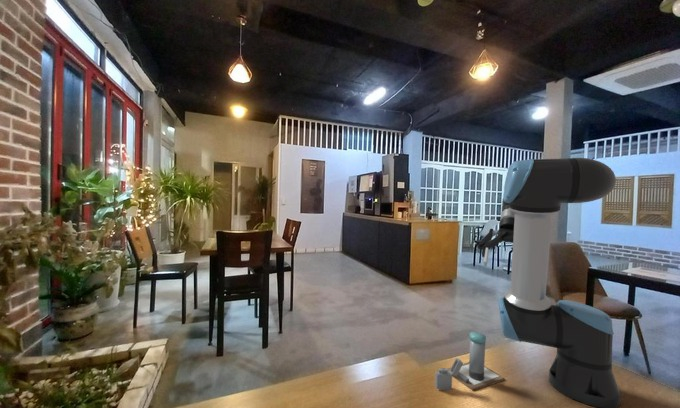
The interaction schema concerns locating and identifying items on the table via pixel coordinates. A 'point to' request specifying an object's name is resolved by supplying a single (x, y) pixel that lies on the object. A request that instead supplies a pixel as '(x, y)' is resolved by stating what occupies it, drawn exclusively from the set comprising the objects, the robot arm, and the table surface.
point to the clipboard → (473, 384)
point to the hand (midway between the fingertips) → (506, 266)
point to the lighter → (447, 375)
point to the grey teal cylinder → (477, 356)
